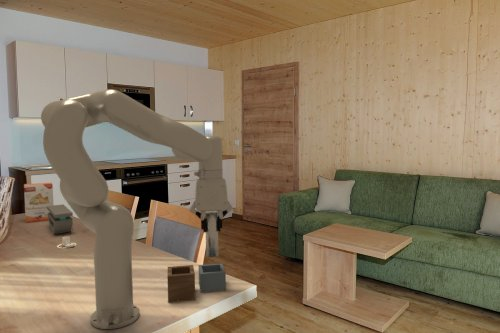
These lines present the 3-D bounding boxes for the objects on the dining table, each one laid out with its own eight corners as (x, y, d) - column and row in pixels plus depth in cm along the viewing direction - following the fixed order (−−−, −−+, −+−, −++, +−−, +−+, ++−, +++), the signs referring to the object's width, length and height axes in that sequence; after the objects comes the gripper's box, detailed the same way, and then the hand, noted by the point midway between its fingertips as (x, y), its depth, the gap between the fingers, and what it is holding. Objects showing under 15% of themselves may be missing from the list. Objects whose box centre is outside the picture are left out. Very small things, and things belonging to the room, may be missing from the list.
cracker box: (25, 223, 208) (23, 185, 206) (26, 220, 213) (23, 183, 211) (54, 220, 215) (52, 183, 213) (54, 217, 220) (52, 182, 218)
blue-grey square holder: (225, 290, 121) (225, 272, 121) (200, 292, 120) (200, 274, 119) (222, 280, 129) (222, 263, 129) (198, 282, 128) (198, 265, 127)
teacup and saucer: (76, 248, 165) (75, 239, 165) (55, 250, 162) (55, 241, 162) (77, 242, 173) (76, 234, 173) (57, 244, 170) (57, 236, 170)
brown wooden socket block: (195, 299, 115) (194, 274, 114) (168, 302, 113) (167, 276, 112) (193, 289, 122) (193, 265, 122) (168, 291, 121) (167, 266, 120)
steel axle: (219, 256, 122) (218, 214, 121) (206, 257, 121) (205, 214, 120) (217, 252, 126) (216, 211, 125) (205, 253, 125) (204, 211, 124)
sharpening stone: (73, 234, 185) (72, 212, 184) (55, 237, 181) (54, 214, 179) (64, 224, 205) (63, 204, 204) (48, 226, 201) (47, 206, 200)
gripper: (184, 177, 116) (186, 235, 117) (238, 175, 119) (239, 232, 121) (183, 174, 123) (185, 229, 125) (234, 172, 126) (235, 226, 128)
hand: (211, 230), depth 123 cm, fingers closed on steel axle, 4 cm apart
